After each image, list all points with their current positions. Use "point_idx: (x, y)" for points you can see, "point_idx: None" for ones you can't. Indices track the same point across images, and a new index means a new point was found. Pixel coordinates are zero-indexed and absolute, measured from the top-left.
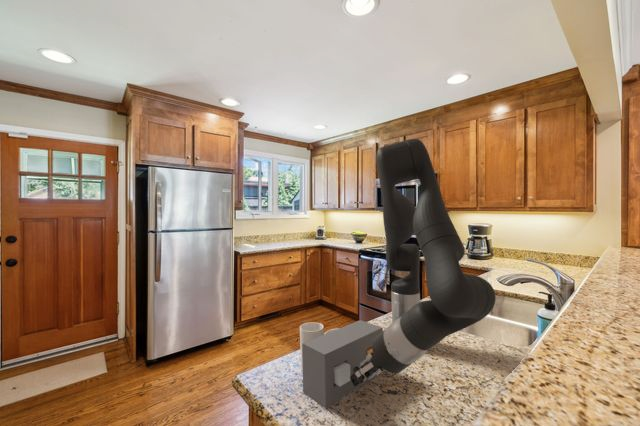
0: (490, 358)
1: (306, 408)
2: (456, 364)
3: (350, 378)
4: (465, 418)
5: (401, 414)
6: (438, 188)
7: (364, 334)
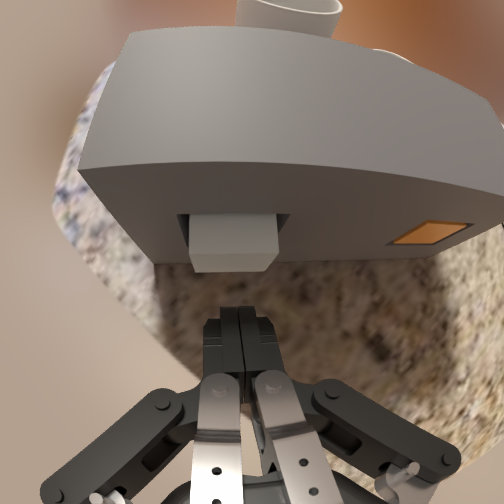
0: None
1: (117, 222)
2: None
3: (205, 325)
4: None
5: None
6: None
7: (472, 177)
